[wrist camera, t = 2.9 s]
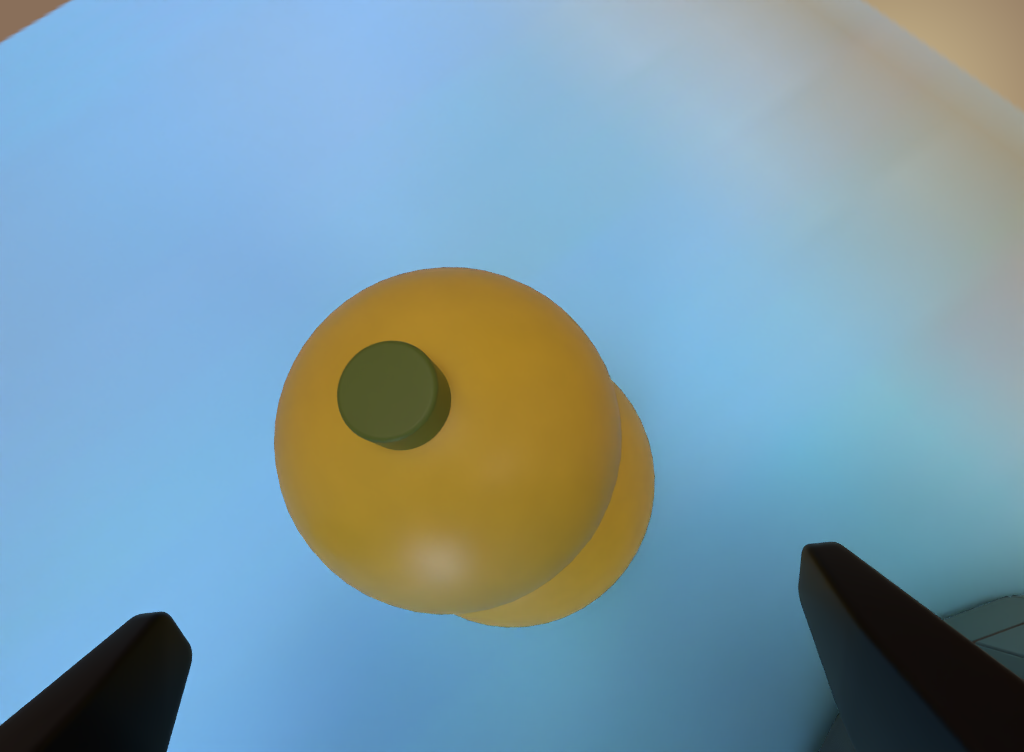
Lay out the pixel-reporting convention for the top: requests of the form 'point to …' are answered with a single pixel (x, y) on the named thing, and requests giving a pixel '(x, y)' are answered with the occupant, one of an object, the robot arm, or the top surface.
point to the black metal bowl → (993, 627)
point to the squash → (463, 451)
